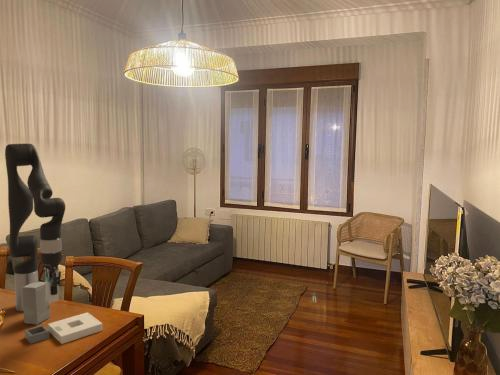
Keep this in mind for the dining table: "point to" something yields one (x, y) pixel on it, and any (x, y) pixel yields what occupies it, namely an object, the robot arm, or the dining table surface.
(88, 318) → the port plate
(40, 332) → the holster
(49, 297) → the plug
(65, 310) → the dining table surface
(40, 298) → the skincare box
